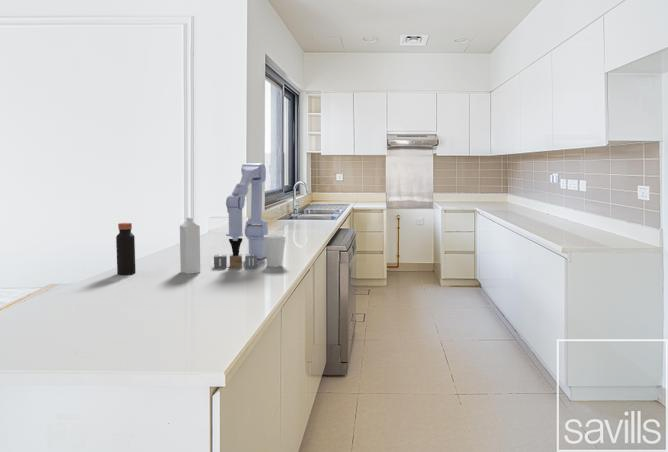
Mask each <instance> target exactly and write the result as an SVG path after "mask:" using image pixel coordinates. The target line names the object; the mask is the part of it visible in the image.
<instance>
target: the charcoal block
mask: <svg viewBox="0 0 668 452" xmlns="http://www.w3.org/2000/svg"><path fill="white" fill-rule="evenodd" d="M227 256H228V254H214V256H213V269H227V265H228V263H227V262H228V261H227V258H228V257H227Z"/></svg>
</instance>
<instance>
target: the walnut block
mask: <svg viewBox="0 0 668 452" xmlns="http://www.w3.org/2000/svg"><path fill="white" fill-rule="evenodd" d="M229 268H230V269H239V268H241V269H242V268H243V254H242V253H239V255H238V256H233V253H232V254H229Z"/></svg>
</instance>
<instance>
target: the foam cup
mask: <svg viewBox="0 0 668 452" xmlns="http://www.w3.org/2000/svg"><path fill="white" fill-rule="evenodd" d="M285 243H286V235H284V234H268V235H264V245H265V253H266V257H265V259H266V266H267V267H268V268H269V267H270V268H279V266H280V267H282V266H283V259H284V252H285Z"/></svg>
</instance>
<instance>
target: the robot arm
mask: <svg viewBox="0 0 668 452" xmlns="http://www.w3.org/2000/svg"><path fill="white" fill-rule="evenodd" d="M266 174H267V169H266V165H265V164H264V163H245V162H244V163H242V165H241V177H240V180H239V181H240V182H239V183H237V184H236V185H235V187H234V189H233V190H232V192H231V195H229V196H227V197H226V202H225V205H226V211H227V214H228V233H226V234H225V236H227V237H230V238H229V239H228V242H229V244H230V247H231V250H232V254H233V256H238V255H239V254H240V248H241V244H242V241H243V237H244V235H245V238H246V239H247V240H248V254H257V260H261V259H266V253H265V245H264V235H269V228H268V222H267V221H266V220H265V219H263V217H262V215H263V214H262V210H263V209H262V207H263V183H264V182H266V179H267V177H266V176H267V175H266ZM250 184H251V193H250V194H251V195H250V198H251V199H250V202H251V204H250V218H249V219H247V221H245V225H244V234H243V209H244V207H245V203H246V196H247V194H248V192H249V187H248V186H249V185H250Z"/></svg>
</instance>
